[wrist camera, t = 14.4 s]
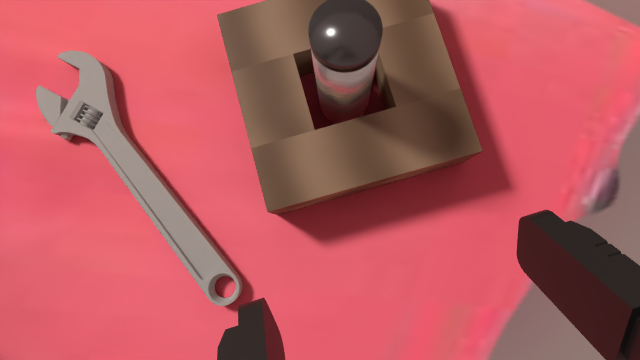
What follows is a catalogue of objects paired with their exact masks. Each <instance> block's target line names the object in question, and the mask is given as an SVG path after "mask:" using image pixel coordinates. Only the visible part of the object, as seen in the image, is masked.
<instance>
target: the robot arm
mask: <svg viewBox="0 0 640 360" xmlns="http://www.w3.org/2000/svg"><path fill="white" fill-rule="evenodd" d="M517 259H518V262H519V264H520V266H521V268H522V269H523V271H524V272H525V273H526V275H527V276H528V277H529V278H530V279H531V280H532V281H533V282H534V283H535V284H536V285H537V286H538V287H539V288H540V290H541V291H542V292H543V293H544V294H545V295H546V296H547V297H548V298H549V299H550V300H551V301H552V302H553V303H554V305H555V306H557V308H558V309H559V310H560V311H561V312H562V313H563V314H564V315H565V316H566V317H567V319H568V320H569V321H570V322H571V323H572V324H573V325H574V326H575V327H576V328H577V329H578V330H579V331H580V332H581V334H582V335H583V336H584V337H585V338H586V339H587V340H588V341H589V342H590V343H591V344H592V345H593V347H594V348H596V350H597V351H598V352H599V353H600V354H601V355H602V356H603V357H604V358H605V359H606V360H640V266H639V265H638V264H637V263H635V262H634V261H633V260H631V259H630V258H629V257H627V256H626V255H625V254H621V251H619V250H618V249H617V248H615V247H614V246H613V245H611V244H608V243H607V241H606V240H605V239H603V238H602V237H601V236H600V235H598V234H597V233H595V232H594V231H593V230H591V229H590V228H587V227H585V226H582V225H580V224H578V223H575V222H573V221H568V222H564V221H563V220H562V219H561V218H559V217H558V216H557V215H555V214H554V213H553V212H551V211H549V210H543V211H540V212H537V213H533V214H530V215H527V216H524V217H521V218H520V220H519V228H518V241H517ZM217 360H285V353H284V347H283V342H282V338H281V334H280V331H279V329H278V326H277V324H276V322H275V320H274V318H273V315H272V313H271V311H270V309H269V306H268V304H267V302H266V300H265V299H264V298H261V299H258V300H255V301H252V302H248V303H245V304H242V305H239V308H238V326H235V327H232V328H229V329H226V330H225V332H224V334H223V337H222V339H221V341H220V344H219V346H218V354H217Z"/></svg>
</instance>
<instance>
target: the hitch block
mask: <svg viewBox="0 0 640 360" xmlns="http://www.w3.org/2000/svg"><path fill="white" fill-rule="evenodd" d="M325 1H327V0H266V1H263V2H259V3H256V4H253V5H249V6H246V7H242V8H239V9H235V10H232V11H229V12H225V13H222V14H218V15H217V17H218V21H219V25H220V29H221V33H222V37H223V40H224V44H225V48H226V52H227V56H228V60H229V64H230V68H231V72H232V75H233V79H234V83H235V87H236V91H237V95H238V99H239V103H240V107H241V110H242V114H243V118H244V122H245V126H246V130H247V134H248V138H249V141H250V145H251V149H252V153H253V157H254V161H255V165H256V169H257V173H258V176H259V180H260V184H261V188H262V192H263V196H264V200H265V204H266V208H267V211H268V212H269V213H273V214H276V215H278V214H282V213H285V212H289V211H292V210H296V209H299V208H303V207H306V206H310V205H314V204H317V203H321V202H324V201H328V200H331V199H335V198H338V197H342V196H345V195H349V194H352V193H356V192H359V191H363V190H366V189H370V188H373V187H377V186H381V185H384V184H388V183H391V182H395V181H398V180H402V179H405V178H409V177H412V176H416V175H419V174H423V173H426V172H430V171H433V170H437V169H440V168H444V167H447V166H451V165H455V164H458V163H462V162H464V161H466V160H468V159H470V158H471V157H473V156H475V155H477V154H478V153H480V152H482V148H481V145H480V142H479V139H478V136H477V134H476V131H475V128H474V125H473V122H472V119H471V117H470V114H469V111H468V108H467V105H466V103H465V100H464V97H463V94H462V91H461V88H460V86H459V83H458V80H457V77H456V74H455V71H454V69H453V66H452V63H451V60H450V57H449V54H448V52H447V49H446V46H445V43H444V40H443V38H442V35H441V32H440V29H439V26H438V23H437V21H436V18H435V15H434V12H433V9H432V6H431V4H430V1H429V0H366V1H367V2H369V3H370V4H371V5H372V6H373V7H374V8H375V9H376V10H377V12H378V13H379V15H380V18H381V21H382V26H383V33H382V39H381V43H380V48H379V53H378V58H377V62H376V67H375V72H374V77H375V80H376V83H377V87H378V90H379V93H380V96H381V99H382V102H383V105H384V109H385V110H383V111H380V112H376V113H373V114H369V115H366V116H362V117H359V118H355V119H352V120H348V121H345V122H341V123H338V124H334V125H331V126H327V127H324V128H320V129H317V130H315V129H314V126H313V122H312V119H311V115H310V112H309V108H308V105H307V101H306V98H305V94H304V91H303V87H302V84H301V80H300V77H299V76H301V75H305V74H308V73H312V72H314V66H313V60H312V53H311V47H310V41H309V33H308V28H309V22H310V19H311V17H312V15H313V13H314V12H315V10H316V9H317V8H318V7H319V6H320V5H321V4H322V3H324V2H325Z"/></svg>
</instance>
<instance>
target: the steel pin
mask: <svg viewBox="0 0 640 360" xmlns="http://www.w3.org/2000/svg"><path fill="white" fill-rule="evenodd" d="M308 33H309V41H310V47H311V53H312V60H313V66H314V72H315V79H316V85H317V91H318V97H319V104H320V108H321V111H322V112H323V114H324V115H325V116H326V117H327V118H328V119H329V120H331V121H332V122H335V123H341V122H345V121H348V120H352V119H355V118H359V117H361V116H362V115H363V114H364V112H365V111H366V108H367V105H368V100H369V95H370V91H371V86H372V81H373V77H374V72H375V67H376V62H377V58H378V53H379V48H380V43H381V39H382V33H383V26H382V21H381V18H380V15H379V13H378V12H377V10H376V9H375V8H374V7H373V6H372V5H371V4H370V3H369V2H367V1H366V0H327V1H325V2H324V3H322V4H321V5H320V6H319V7H318V8H317V9H316V10H315V12H314V13H313V15H312V17H311V19H310V22H309V28H308Z"/></svg>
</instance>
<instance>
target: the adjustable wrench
mask: <svg viewBox="0 0 640 360" xmlns="http://www.w3.org/2000/svg"><path fill="white" fill-rule="evenodd" d="M57 57H58V58H60V59H61V60H63V61H64V62H66V63H68V64H70V65H72V66H74V67H75V68H77V69H79V87H78V88H77V90H76V91H75V93H74V94H73V96H72V98H71V99H70V100H67V99H65V98H63V97H61V96H59V95H57V94H56V93H54V92H52V91H50V90H48V89H46V88H44V87H42V86H40V85H39V86H38V88H37V89H36V97H37V103H38V106H39V109H40V111H41V113H42V115H43V116H44V118H45V119H46V120H47V122H48V123H49V124H50V125H51V126H52V127H53V129H52V130H51V133H54V134H56V135H59V136H61V137H62V138H64V139H67V140H69V141H70V140H71V139H72V137H73V136H81V137H85V138H88V139H89V140H91V141H92V142H93V143H94V144H96V146H97V147H98V148H99V149H100V150H101V151H102V153H103V154H104V155H105V157H106V158H107V160H108V161H109V162H110V164H111V165H112V166H113V168H114V169H115V171H116V172H117V173H118V175H119V176H120V177H121V179H122V180H123V182H124V183H125V184H126V186H127V187H128V188H129V190H130V191H131V193H132V194H133V195H134V197H135V198H136V199H137V201H138V202H139V204H140V205H141V206H142V208H143V209H144V211H145V212H146V213H147V215H148V216H149V217H150V219H151V220H152V222H153V223H154V224H155V226H156V227H157V228H158V230H159V231H160V233H161V234H162V235H163V237H164V238H165V239H166V241H167V242H168V244H169V245H170V246H171V248H172V249H173V250H174V252H175V253H176V255H177V256H178V257H179V259H180V260H181V261H182V263H183V264H184V266H185V267H186V268H187V270H188V271H189V272H190V274H191V275H192V277H193V278H194V279H195V281H196V282H197V284H198V285H199V286H200V288H201V289H202V290H203V292H204V293H205V295H206V296H207V297H208V299H209V300H210V301H211V302H212V303H214V304H216V305H218V306H225V305H229V304H230V303H232V302H234V301H235V300H237V298H238V297H239V296H240V295H241V292H242V288H243V284H242V279H241V278H240V276H239V274H238V273H237V272H236V271H235V269H234V268H233V267H232V266H231V264H230V263H229V262H228V261H227V259H226V258H225V257H224V256H223V254H222V253H221V252H220V251H219V249H218V248H217V247H216V246H215V244H214V243H213V242H212V240H211V239H210V238H209V237H208V235H207V234H206V233H205V232H204V230H203V229H202V228H201V227H200V225H199V224H198V223H197V222H196V220H195V219H194V218H193V217H192V215H191V214H190V213H189V212H188V210H187V209H186V208H185V207H184V205H183V204H182V203H181V202H180V200H179V199H178V198H177V196H176V195H175V194H174V193H173V191H172V190H171V189H170V188H169V186H168V185H167V184H166V183H165V181H164V180H163V179H162V178H161V176H160V175H159V174H158V173H157V171H156V170H155V169H154V168H153V166H152V165H151V164H150V163H149V161H148V160H147V159H146V157H145V156H144V155H143V154H142V152H141V151H140V150H139V149H138V147H137V146H136V145H135V144H134V142H133V141H132V140H131V139H130V137H129V136H128V134H127V133H126V131H125V130H124V127H123V125H122V122H121V119H120V115H119V112H118V108H117V103H116V97H115V90H114V82H113V78H112V75H111V73H110V71H109V70H108V68H107V67H106V66H105V65H104V64H103V63H101V62H100V61H98V60H97V59H95V58H94V57H92V56H91V55H89V54H87V53H84V52H81V51H67V52H62V53H60V54H59V55H58V56H57ZM222 276H229V277H231V278H232V279H233V280H234V282H235V285H236V289H235V292H234V293H233V295H232V296H230V297H227V298H222V297H220V296H219V295H218V294H217V293H216V291H215V283H216V281H217V280H218V279H219V278H220V277H222Z"/></svg>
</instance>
